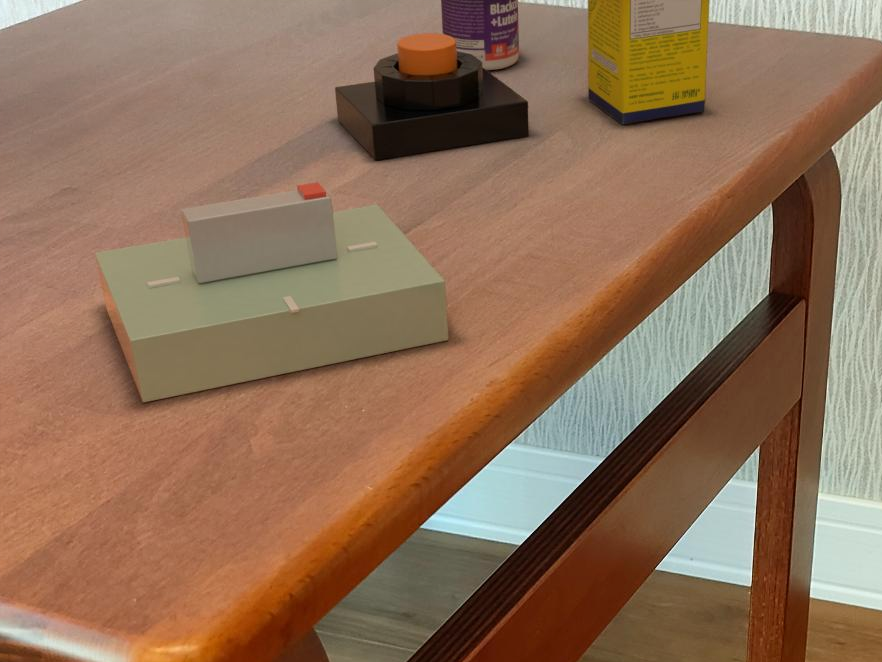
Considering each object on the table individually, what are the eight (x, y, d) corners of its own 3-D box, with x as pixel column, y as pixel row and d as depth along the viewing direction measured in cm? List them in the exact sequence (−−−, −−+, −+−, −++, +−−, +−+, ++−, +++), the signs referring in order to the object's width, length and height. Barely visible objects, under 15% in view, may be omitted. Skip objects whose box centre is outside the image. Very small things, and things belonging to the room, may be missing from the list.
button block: (375, 160, 84) (369, 94, 82) (337, 121, 90) (331, 57, 88) (529, 136, 87) (527, 71, 85) (483, 99, 93) (480, 37, 91)
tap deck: (144, 406, 60) (130, 340, 58) (105, 307, 68) (92, 246, 66) (451, 343, 64) (447, 280, 63) (380, 257, 72) (375, 198, 71)
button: (409, 82, 85) (408, 52, 84) (391, 66, 87) (389, 37, 86) (465, 74, 86) (464, 44, 85) (445, 58, 88) (444, 30, 87)
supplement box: (666, 87, 95) (672, -87, 88) (706, 114, 90) (715, -68, 84) (584, 99, 93) (585, -78, 87) (621, 126, 88) (624, -58, 82)
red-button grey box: (198, 284, 63) (186, 215, 61) (191, 270, 64) (179, 203, 62) (338, 259, 65) (331, 191, 63) (328, 246, 66) (321, 180, 64)
